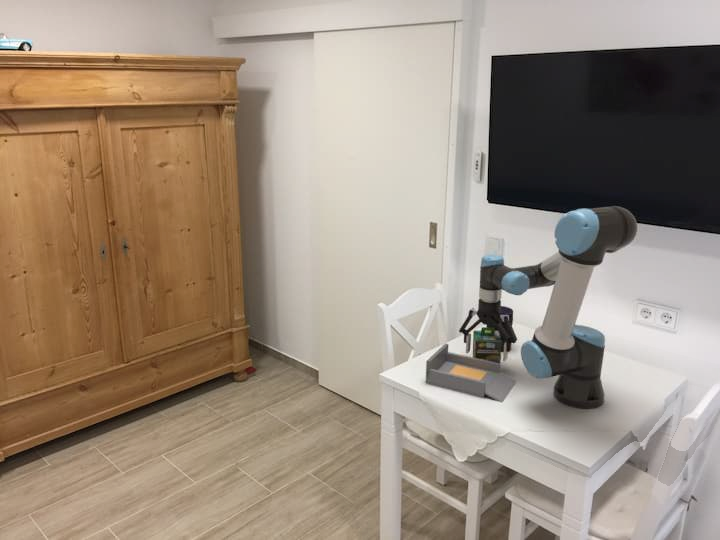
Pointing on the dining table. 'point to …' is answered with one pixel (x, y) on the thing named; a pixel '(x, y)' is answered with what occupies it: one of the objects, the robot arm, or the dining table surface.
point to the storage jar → (503, 311)
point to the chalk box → (487, 344)
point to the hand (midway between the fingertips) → (486, 355)
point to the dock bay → (467, 374)
